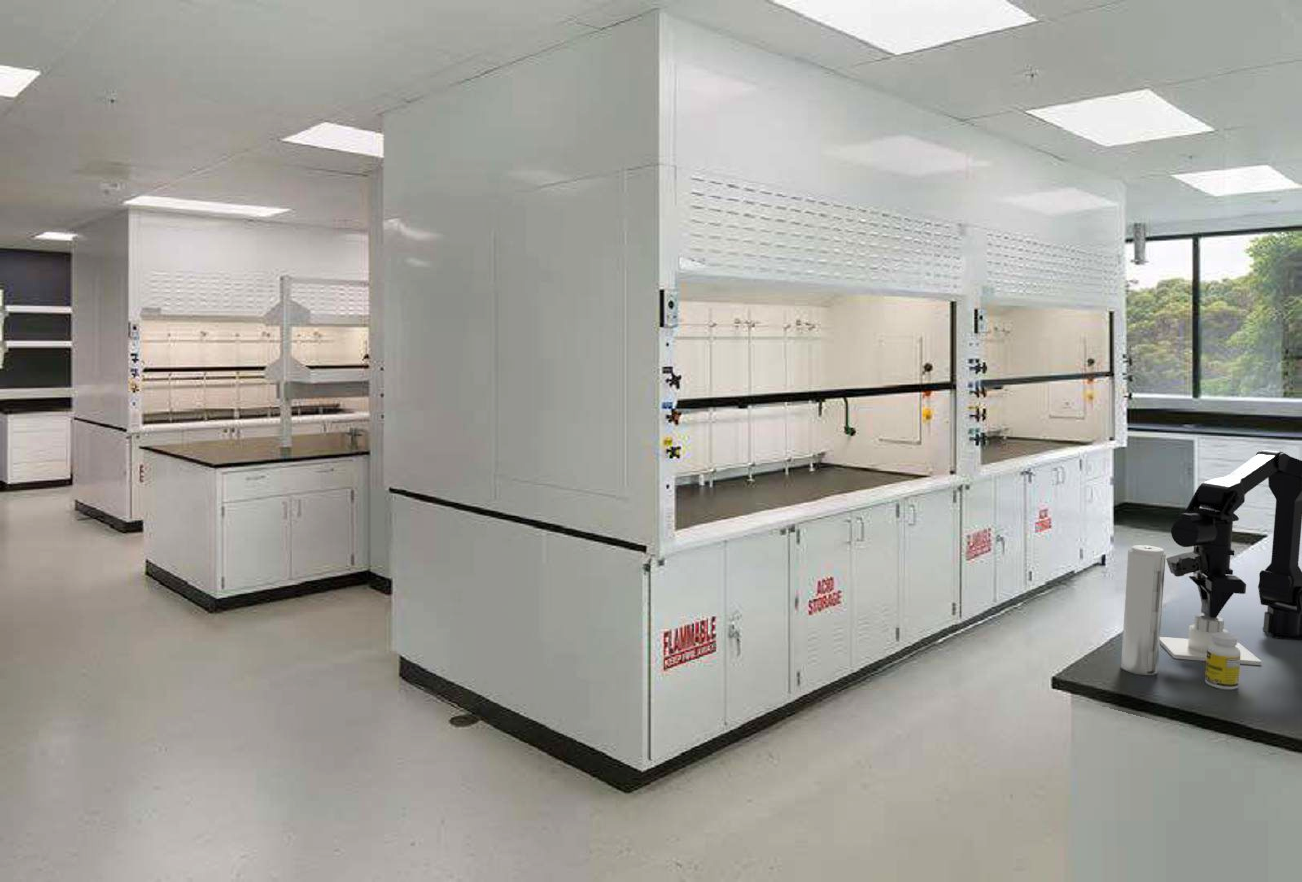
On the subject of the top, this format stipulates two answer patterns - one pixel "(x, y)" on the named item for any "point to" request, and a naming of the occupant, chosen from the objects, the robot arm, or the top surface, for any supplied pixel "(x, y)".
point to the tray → (1182, 651)
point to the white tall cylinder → (1143, 609)
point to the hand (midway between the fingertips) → (1209, 615)
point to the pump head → (1206, 609)
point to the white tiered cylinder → (1204, 632)
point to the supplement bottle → (1223, 662)
